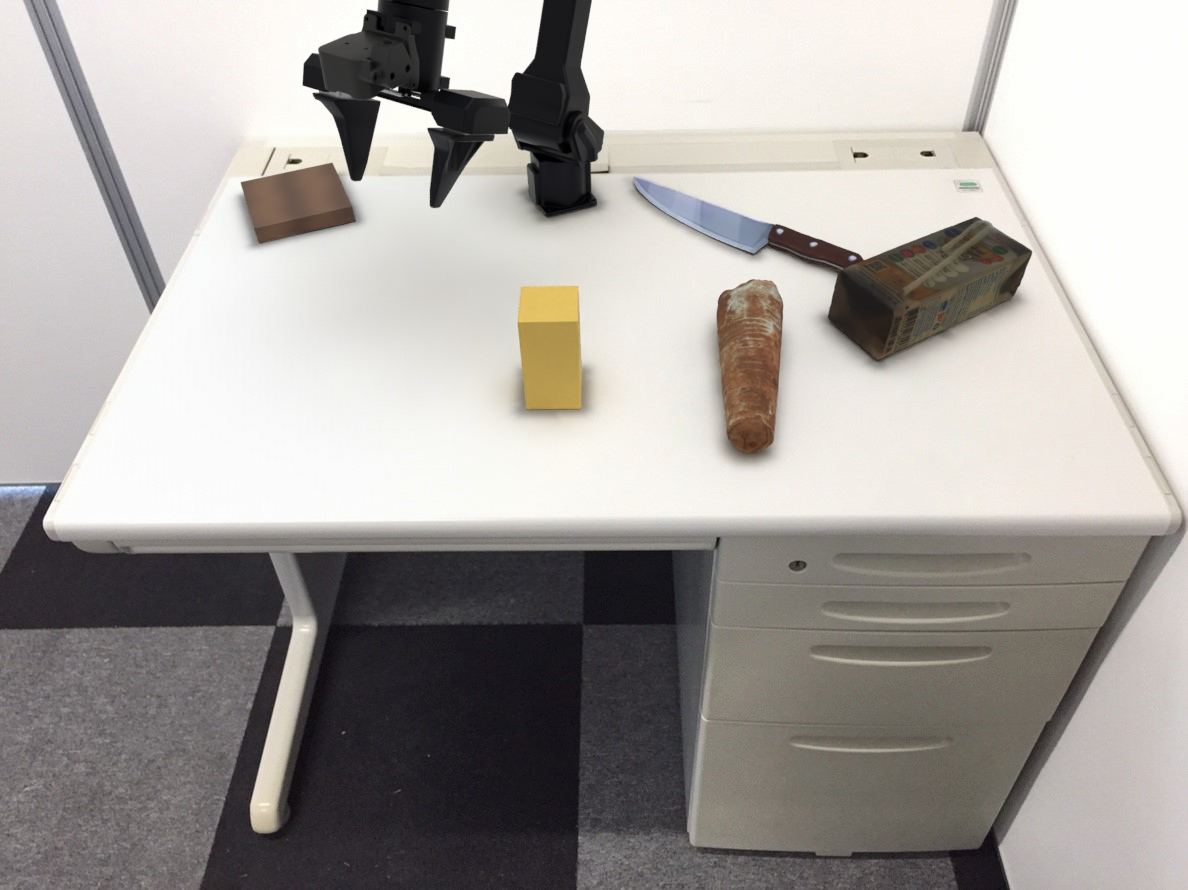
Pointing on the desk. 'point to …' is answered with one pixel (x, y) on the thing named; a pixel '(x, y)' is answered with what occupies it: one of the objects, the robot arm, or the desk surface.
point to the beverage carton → (927, 285)
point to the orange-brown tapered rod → (750, 361)
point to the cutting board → (297, 202)
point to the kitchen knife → (743, 227)
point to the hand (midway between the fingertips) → (394, 193)
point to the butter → (550, 346)
